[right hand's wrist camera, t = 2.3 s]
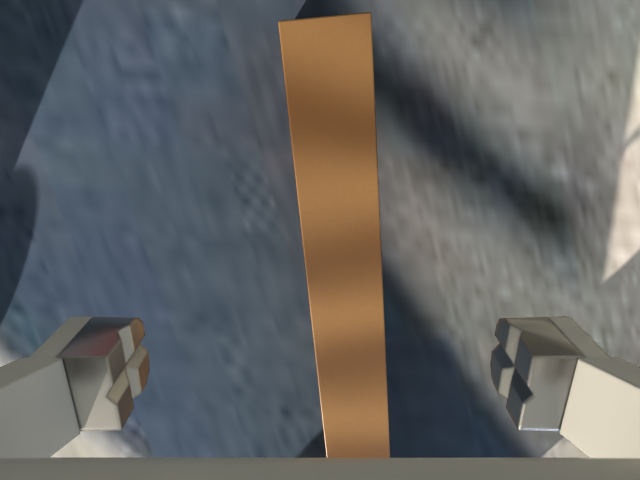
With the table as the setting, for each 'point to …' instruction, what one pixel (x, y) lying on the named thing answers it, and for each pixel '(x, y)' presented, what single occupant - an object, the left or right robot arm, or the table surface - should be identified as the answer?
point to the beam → (340, 223)
